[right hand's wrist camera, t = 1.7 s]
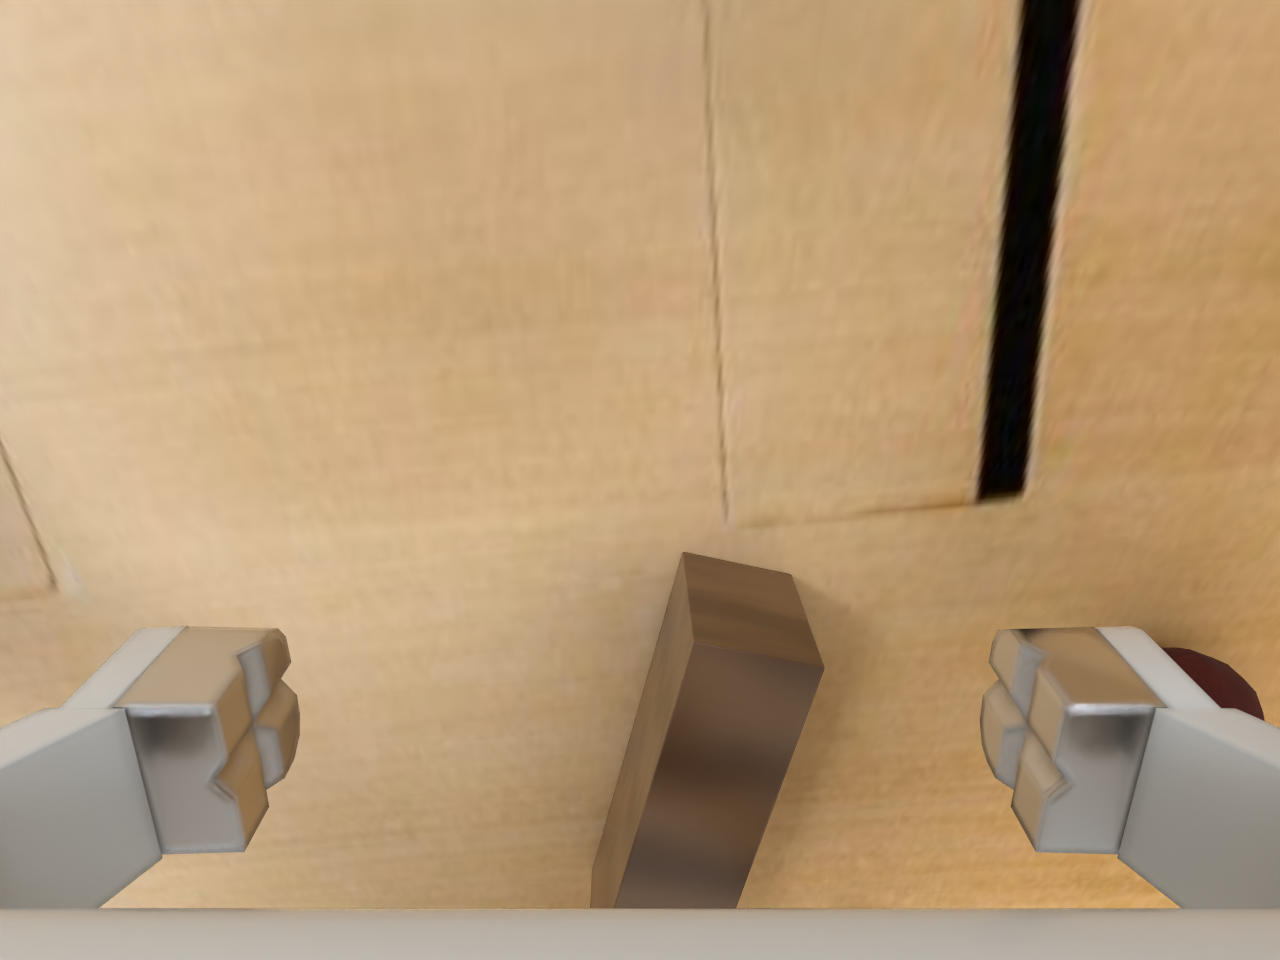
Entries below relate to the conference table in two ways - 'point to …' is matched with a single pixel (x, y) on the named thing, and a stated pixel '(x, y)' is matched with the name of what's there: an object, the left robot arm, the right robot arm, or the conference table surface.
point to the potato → (1217, 681)
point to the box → (708, 740)
